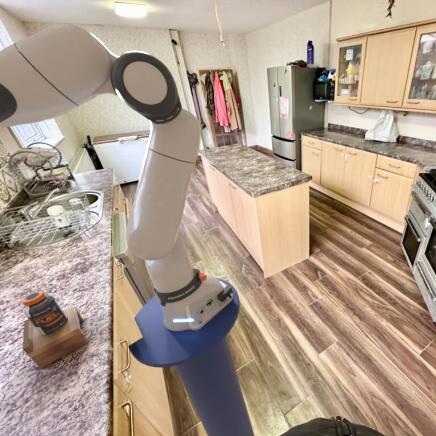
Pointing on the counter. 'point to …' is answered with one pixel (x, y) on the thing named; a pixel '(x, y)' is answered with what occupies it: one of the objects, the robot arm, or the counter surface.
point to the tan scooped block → (54, 339)
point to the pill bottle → (44, 312)
